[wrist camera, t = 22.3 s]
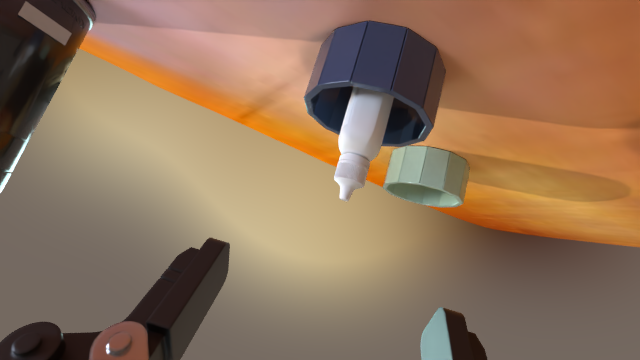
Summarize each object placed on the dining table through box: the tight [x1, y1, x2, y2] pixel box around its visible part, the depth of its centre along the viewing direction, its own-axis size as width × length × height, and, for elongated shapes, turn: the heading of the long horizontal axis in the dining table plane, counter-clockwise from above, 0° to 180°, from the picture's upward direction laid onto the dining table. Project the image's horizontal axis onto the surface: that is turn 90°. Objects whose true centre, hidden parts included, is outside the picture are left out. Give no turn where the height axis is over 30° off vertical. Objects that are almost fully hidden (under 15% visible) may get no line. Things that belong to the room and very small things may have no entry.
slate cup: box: [304, 21, 446, 147], centre depth 26 cm, size 10×10×5 cm
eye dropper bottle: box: [334, 87, 394, 201], centre depth 25 cm, size 4×6×12 cm
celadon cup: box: [383, 146, 470, 207], centre depth 44 cm, size 10×10×5 cm
